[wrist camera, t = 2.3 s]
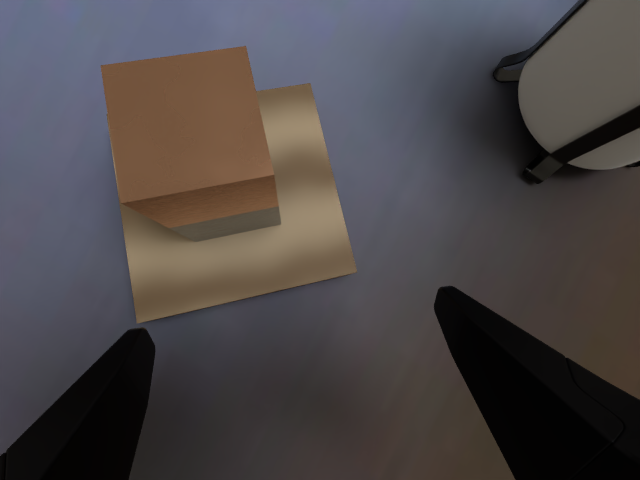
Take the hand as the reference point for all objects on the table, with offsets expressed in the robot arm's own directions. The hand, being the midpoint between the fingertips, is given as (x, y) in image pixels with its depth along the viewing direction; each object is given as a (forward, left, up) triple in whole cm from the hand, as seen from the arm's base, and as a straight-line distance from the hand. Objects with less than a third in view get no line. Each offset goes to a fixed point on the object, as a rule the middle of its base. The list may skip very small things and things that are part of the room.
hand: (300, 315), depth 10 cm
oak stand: (+1, +8, -14) cm, 16 cm away
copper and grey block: (+1, +8, -11) cm, 14 cm away
